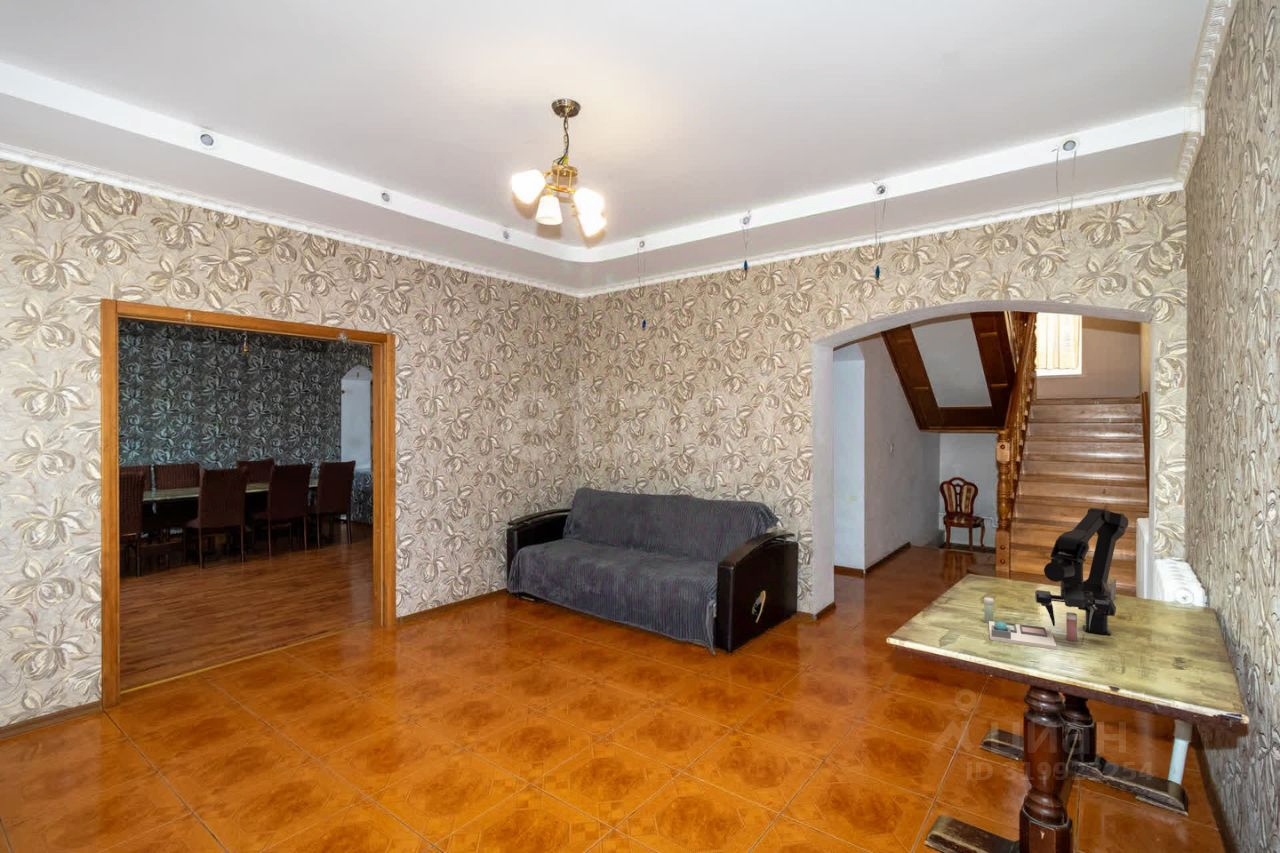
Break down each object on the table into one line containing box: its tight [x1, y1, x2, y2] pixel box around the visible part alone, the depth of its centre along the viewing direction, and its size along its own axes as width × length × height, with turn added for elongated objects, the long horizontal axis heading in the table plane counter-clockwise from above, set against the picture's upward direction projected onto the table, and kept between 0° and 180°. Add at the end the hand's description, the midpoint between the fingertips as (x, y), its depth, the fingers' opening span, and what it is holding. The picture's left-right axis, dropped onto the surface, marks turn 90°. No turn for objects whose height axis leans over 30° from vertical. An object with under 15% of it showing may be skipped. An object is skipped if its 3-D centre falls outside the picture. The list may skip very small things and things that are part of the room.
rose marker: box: [1065, 611, 1078, 642], centre depth 189 cm, size 3×3×8 cm
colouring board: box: [988, 620, 1058, 650], centre depth 193 cm, size 17×17×3 cm
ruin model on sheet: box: [1107, 573, 1117, 602], centre depth 232 cm, size 11×3×10 cm, turn 134°
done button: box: [994, 621, 1007, 631], centre depth 190 cm, size 3×3×2 cm
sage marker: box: [983, 596, 995, 624], centre depth 206 cm, size 3×3×8 cm
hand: (1071, 628), depth 189 cm, fingers open, 9 cm apart
